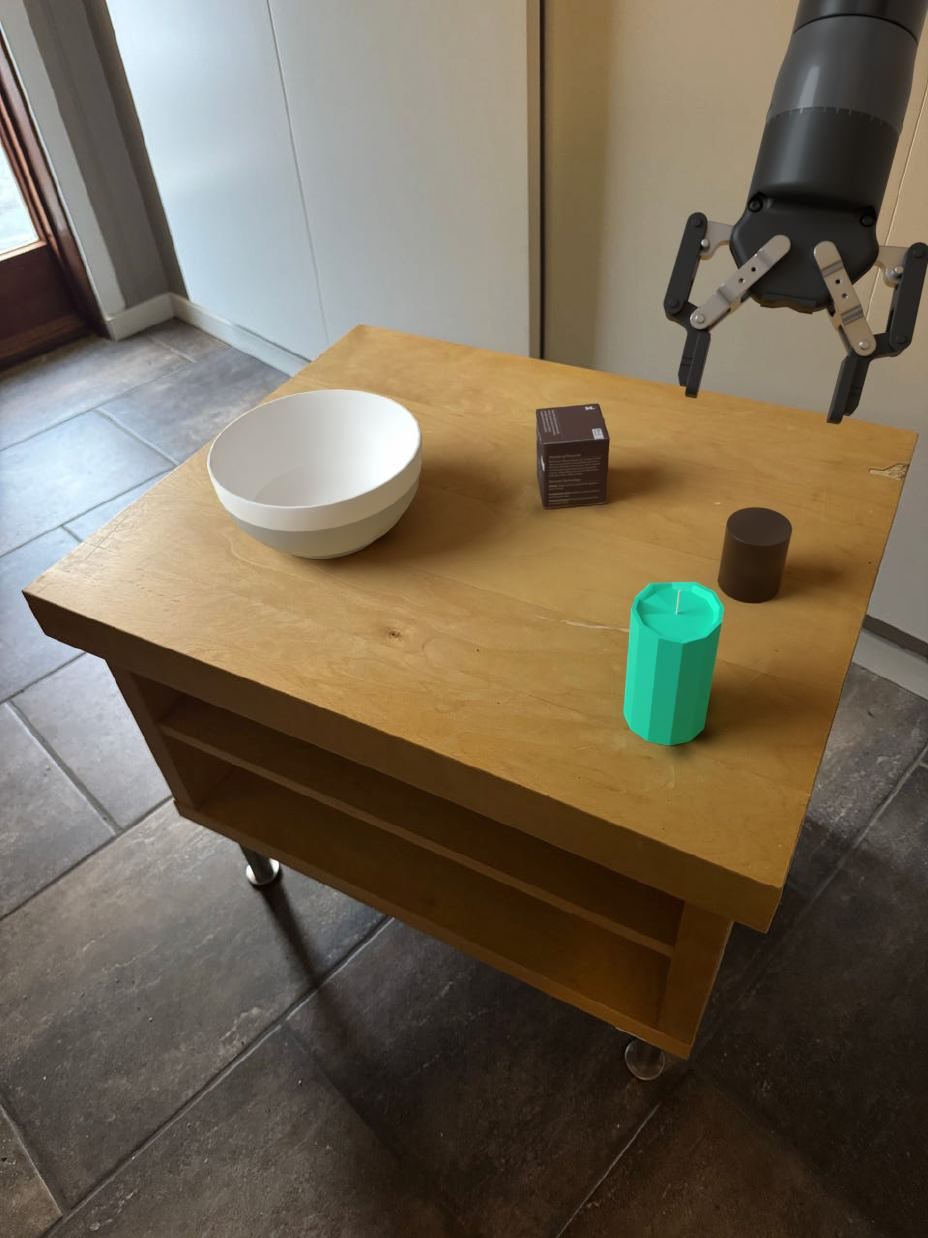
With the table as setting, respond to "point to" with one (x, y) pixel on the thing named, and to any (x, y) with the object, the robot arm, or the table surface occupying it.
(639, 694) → the candle
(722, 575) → the walnut post
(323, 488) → the bowl
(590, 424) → the box
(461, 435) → the table surface
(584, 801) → the table surface
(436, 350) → the table surface
